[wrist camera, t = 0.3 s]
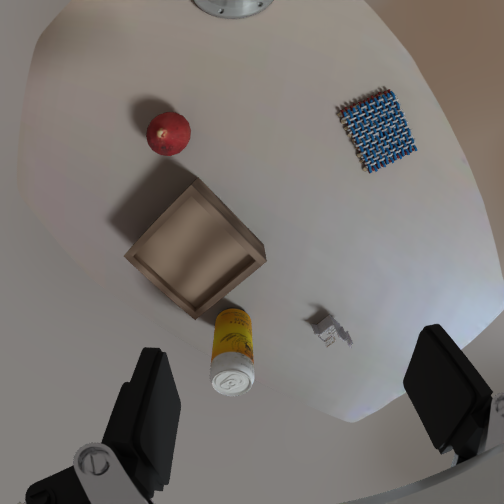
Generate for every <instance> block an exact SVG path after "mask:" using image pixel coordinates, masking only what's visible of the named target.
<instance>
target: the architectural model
mask: <svg viewBox="0 0 504 504" xmlns="http://www.w3.org/2000/svg"><path fill="white" fill-rule="evenodd" d="M311 325H312V328H313V331H314V334H316V335H318V337H319V336H320V335H321V334H322V333H324V332H325V331H327V330H328V329H329V330H330V332H331V333H329V332H328V331H327V334H331V336H329V337H328V338H327V339H326V340H323V339H322V338H321V339H322V340H323V341H324V342H326V341H327V340H328V339H330V338H331V337H333V338H334V340H335V337H334V334H336V333H337V334H338V336H339V338H340V339H342V340H343V341H347V343H348V345H349V347H350V348H352V347H351V345H352V344H353V342H352V340H351V337H350V335H349V333H348V331H347V332H345V331H344V329H343V327H341V326H340V324H339V323H338V322H337V321H336V320H335V319H334V318H333V317H332V316H331V315H330V314H329V315H328V316H327V317H326V318H324V319H323V320H322V321H321V322H319V323H318V324H317V325H315V324H311ZM319 338H320V337H319ZM330 340H331V339H330ZM332 341H333V340H332ZM335 341H336V340H335ZM335 341H334V342H335ZM327 343H328V342H327ZM332 343H333V342H332ZM332 343H331V344H332ZM329 344H330V343H329ZM331 344H330V345H331ZM325 345H326V343H325ZM328 346H329V345H328ZM328 346H326V348H327V347H328Z"/></svg>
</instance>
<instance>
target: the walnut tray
mask: <svg viewBox="0 0 504 504" xmlns="http://www.w3.org/2000/svg"><path fill="white" fill-rule="evenodd" d="M124 257H125V258H126V259H127V260H128V261H129V262H130V263H131V264H132V265H133V266H134V267H136V268H137V269H138V270H139V271H140V272H141V273H142V274H143V275H144V276H145V277H146V278H148V279H149V280H150V281H151V282H152V283H153V284H154V285H155V286H156V287H157V288H159V289H160V290H161V291H162V292H163V293H164V294H165V295H167V296H168V297H169V298H170V299H171V300H172V301H173V302H175V303H176V304H177V305H178V306H179V307H180V308H182V309H183V310H184V311H185V312H186V313H188V314H189V315H190V316H191V317H192V318H193V319H195V320H196V319H197V318H198V317H199V316H201V315H202V314H203V313H204V312H206V311H207V310H208V309H209V308H211V307H212V306H213V305H214V304H215V303H217V302H218V301H219V300H220V299H222V298H223V297H224V296H225V295H226V294H228V293H229V292H230V291H231V290H233V289H234V288H235V287H236V286H237V285H239V284H240V283H241V282H242V281H244V280H245V279H246V278H247V277H248V276H250V275H251V274H252V273H253V272H255V271H256V270H257V269H258V268H259V267H261V266H262V265H263V264H264V263H265V262H267V260H266V254H265V249H264V244H263V243H262V242H261V241H260V240H259V239H258V238H257V237H256V236H255V235H254V234H253V233H252V232H251V231H250V230H249V229H248V228H247V227H246V226H245V225H244V224H243V223H242V222H241V221H240V220H239V219H238V218H237V216H236V215H235V214H234V213H233V212H232V211H231V210H230V209H229V208H228V207H227V206H226V205H225V204H224V203H223V202H222V201H221V200H220V199H219V198H218V197H217V196H216V195H215V194H214V193H213V192H212V191H211V190H210V189H209V188H208V187H207V186H206V185H205V184H204V183H203V182H202V181H201V180H200V179H199V178H197V179H196V180H195V181H194V182H193V183H192V184H191V185H190V186H189V187H188V188H187V189H186V190H185V191H184V192H183V193H182V194H181V195H180V196H179V197H178V198H177V199H176V200H175V201H174V202H173V203H172V204H171V205H170V206H169V207H168V208H167V209H166V210H165V211H164V212H163V213H162V214H161V215H160V216H159V217H158V219H157V220H156V221H155V222H154V223H153V224H152V225H151V226H150V227H149V228H148V229H147V230H146V231H145V232H144V234H143V235H142V236H141V237H140V238H139V239H138V240H137V241H136V242H135V244H134V245H133V246H132V247H131V248H130V249H129V250H128V252H127V253H126V254H125V255H124Z"/></svg>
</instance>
